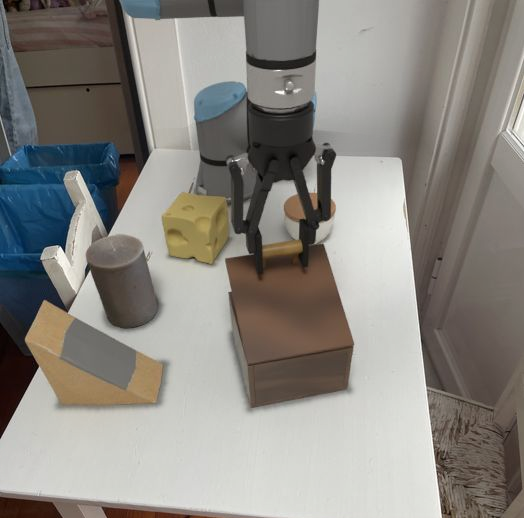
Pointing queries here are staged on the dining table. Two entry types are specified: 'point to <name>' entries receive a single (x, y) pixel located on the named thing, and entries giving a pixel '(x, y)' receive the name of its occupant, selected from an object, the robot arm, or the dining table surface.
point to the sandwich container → (90, 362)
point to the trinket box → (295, 213)
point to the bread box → (291, 372)
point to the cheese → (196, 226)
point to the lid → (287, 303)
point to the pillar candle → (122, 280)
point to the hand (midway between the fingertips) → (280, 265)
